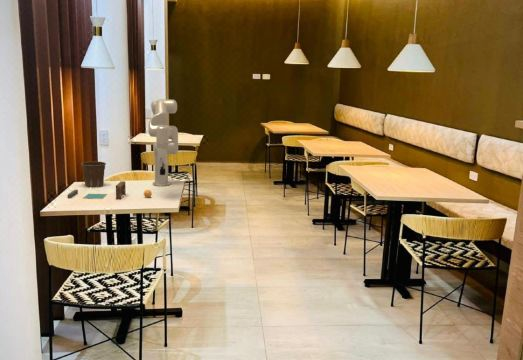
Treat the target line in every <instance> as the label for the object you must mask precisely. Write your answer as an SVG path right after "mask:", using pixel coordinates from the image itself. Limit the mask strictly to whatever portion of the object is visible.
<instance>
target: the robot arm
mask: <svg viewBox="0 0 523 360" xmlns="http://www.w3.org/2000/svg"><path fill="white" fill-rule="evenodd" d="M150 109H151V112H152V114H153V116H152V117H151V118H150V119H149V121H148V127H147V128H148V132H147V133H148V135H149V136H150V137H152V138H156V141H155V142H153V145H152V149H153V155H154V182H152V186H155V187H156V186H157V187H165V186H166V187H167V186H170V185H171V182H170V181H169V160H168V155H176V154H177V155H178V152H179V130H178V128H177V127H176V125H168V120H169V114H176V113H177V111H178V103H177V101H176V100H175V99H164V98H162V99H157V100H154V101H152V102H151V104H150Z"/></svg>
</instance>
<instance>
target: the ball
mask: <svg viewBox="0 0 523 360" xmlns="http://www.w3.org/2000/svg"><path fill="white" fill-rule="evenodd" d="M152 194H153V192H152V190H150V189H145V190H144V192H143V196H144V197H145V198H147V199H148V198H150V197H152Z"/></svg>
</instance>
